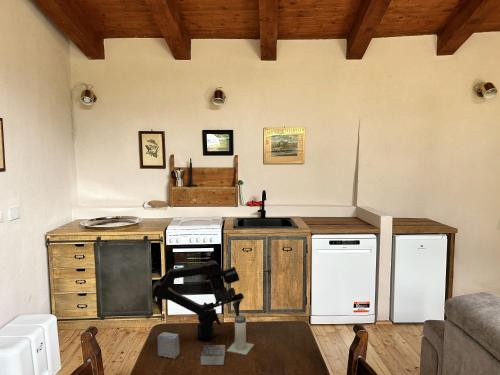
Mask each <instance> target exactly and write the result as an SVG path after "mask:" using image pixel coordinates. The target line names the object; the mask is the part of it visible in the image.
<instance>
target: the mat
mask: <svg viewBox="0 0 500 375" xmlns="http://www.w3.org/2000/svg"><path fill="white" fill-rule="evenodd" d="M254 345H255V343H249V342H246V348H245V349H243V350H237V349H236V348H235V341H233V342H232V344H231V345H230V346H229V347H228V349H226V352H229V353H234V354H239V355H242V356H243V355H244V356H247V355H248V354H249V352H250V351H251V350H252V349H253V347H254Z"/></svg>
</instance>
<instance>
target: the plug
mask: <svg viewBox="0 0 500 375" xmlns="http://www.w3.org/2000/svg"><path fill="white" fill-rule="evenodd" d="M234 342H235V348H236V349H237V350H243V349H245V348H246V343H247V317H246V316H244V315H239V316H236V315H235V317H234Z"/></svg>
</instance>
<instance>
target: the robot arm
mask: <svg viewBox="0 0 500 375" xmlns="http://www.w3.org/2000/svg"><path fill="white" fill-rule="evenodd" d="M200 275H201V276H206V278H205V282H206V283H207V282H210V287H211V289H212V295H214V300H215V303H214V302H209V303H207V302H205V301H204V302H203V304H200V303H198V302H196V301H194V300H192V299H190V298H189V297H186V296H184V295H182V294H181V293H179V292H177V291H175V290H173V289H172V288H171V285H172V284H173V282H174V281H175V279H180V278H181V279H182V278H187V277H188V278H189V277H194V276H200ZM238 281H239V282H240V276H239V274H238V272H237V270H236V267H235V266H232V267H229V268H227V269H223V268H222V267H221V266H220V264H219V263H218V262H217V261H216V260H213V259H212V260H207V261H205V262H203V263H201V264H198V265H191V266H183V267H178V268H177V267H176V268H174V267H173V268H170V269H168V271H166V273H165V274H164V275H162V276H161V277H160V278H159V280H157V281H156V282H154V283H153V285H152V293H153V296H154V297H155V298H156V299H160V300H165V301H171V302H172V303H174V304H176V305H178V306H180V307H183V308H184V309H186V310H188V311H190V312H192V313H194V314H196V315H197V320H198V324H197V337H196V338H195V339H196V340H197V341H203V342H207V343H208V342H210V341H211V340H212V339H213V338H214V337H215V333H214V331H215V330H214V329H215V328H214V327H213V326H214V322H216V324H217V325H218V326H221V321H220V319H219V316H218V313H217V310H216V308H217V307H221V306H223V305H227V304H230V303H232V307H233V310H234V313H235V317H236V316H240V306H241V305H240V304H241V302H243V300H244V299H245V297H244V294H243V293H242V292H239V293H236V291H235V287H231V288H228V289H227V287H226V286H225V284H227V285H230V284H234V283H236V282H238Z"/></svg>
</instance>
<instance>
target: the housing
mask: <svg viewBox="0 0 500 375" xmlns="http://www.w3.org/2000/svg"><path fill="white" fill-rule="evenodd" d="M225 355H226V344H208V345H207V344H206V345H203V346H202V351H201V355H200V365H201V366H223V365H225V364H224V363H225V357H226V356H225Z"/></svg>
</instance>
